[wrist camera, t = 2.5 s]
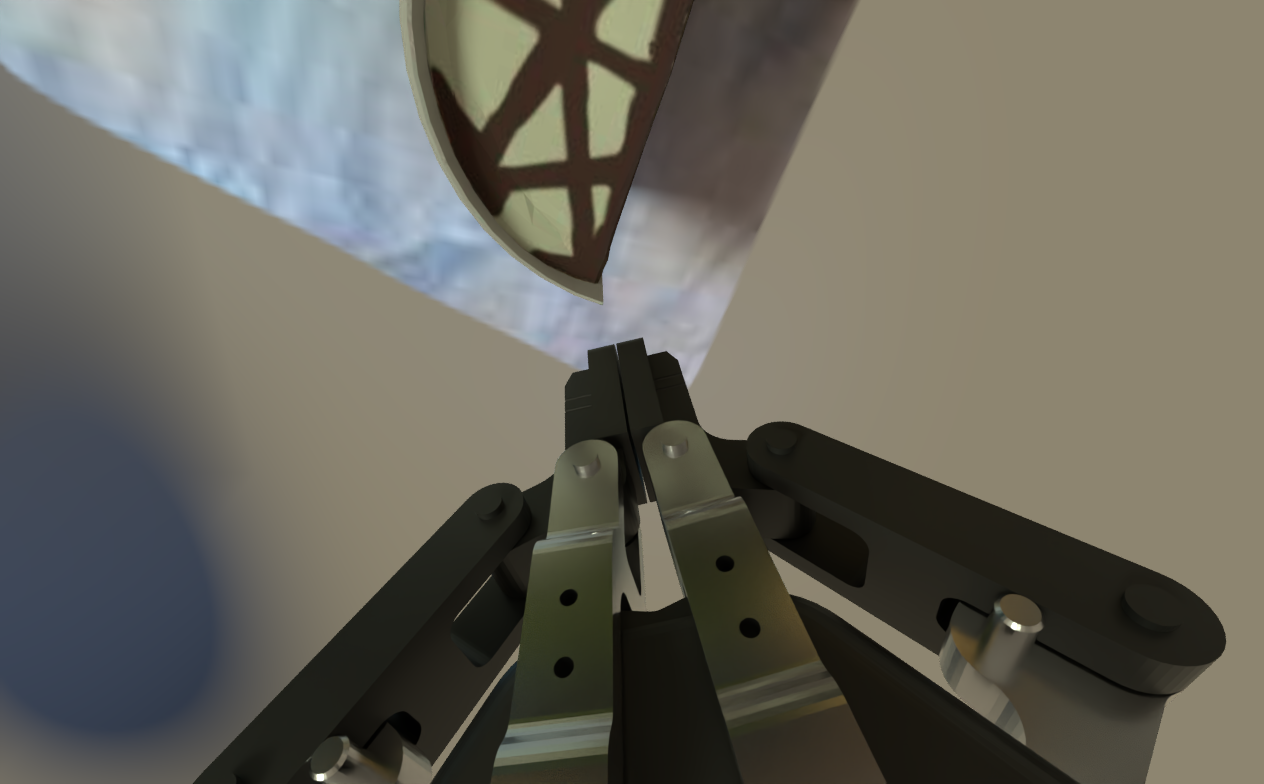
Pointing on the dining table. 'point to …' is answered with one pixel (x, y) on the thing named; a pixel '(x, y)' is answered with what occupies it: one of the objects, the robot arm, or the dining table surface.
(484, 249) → the dining table surface
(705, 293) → the dining table surface
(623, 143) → the food container
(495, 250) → the dining table surface
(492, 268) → the dining table surface
